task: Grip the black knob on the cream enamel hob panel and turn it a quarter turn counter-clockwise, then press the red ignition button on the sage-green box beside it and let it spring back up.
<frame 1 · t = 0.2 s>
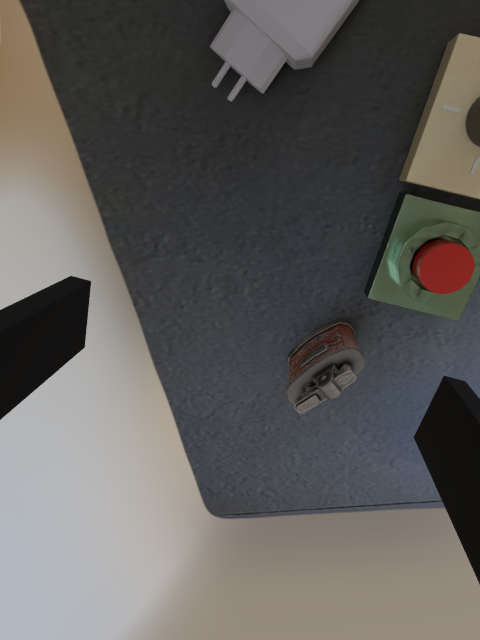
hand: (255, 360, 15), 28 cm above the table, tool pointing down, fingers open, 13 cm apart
lighter: (319, 345, 44), on the table
hob panel: (478, 128, 35), on the table
charger: (279, 18, 34), on the table
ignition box: (426, 255, 39), on the table
ignition button: (442, 266, 35), point 5 cm above the table, slide at 0.1 cm
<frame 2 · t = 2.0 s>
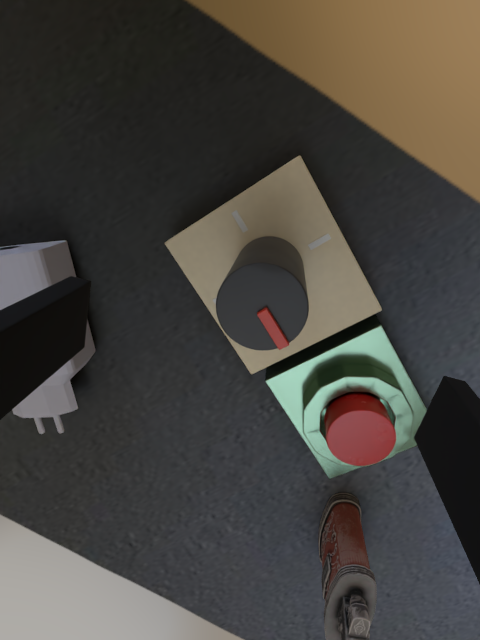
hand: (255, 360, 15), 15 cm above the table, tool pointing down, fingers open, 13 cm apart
lighter: (338, 525, 36), on the table
hob knob: (265, 287, 22), point 6 cm above the table, hinge at 0.0°
hob panel: (274, 267, 28), on the table
charger: (44, 335, 33), on the table
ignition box: (349, 393, 31), on the table
ignition button: (358, 429, 27), point 5 cm above the table, slide at 0.1 cm
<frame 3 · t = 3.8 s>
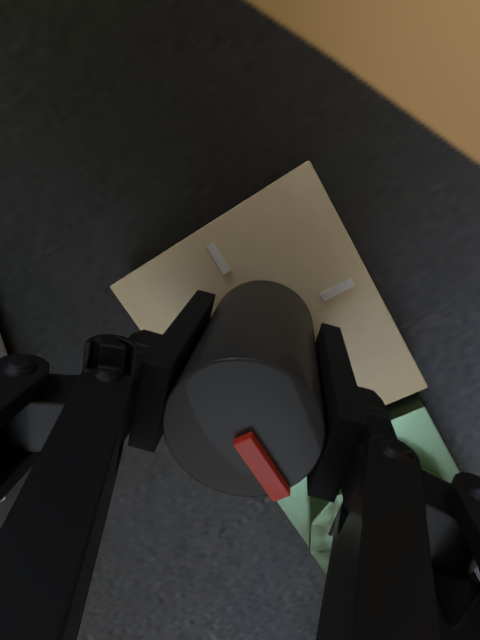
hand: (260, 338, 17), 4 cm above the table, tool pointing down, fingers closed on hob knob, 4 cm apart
hob knob: (254, 369, 14), point 6 cm above the table, hinge at 0.0°, touching gripper
hob panel: (270, 317, 20), on the table
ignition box: (372, 483, 23), on the table
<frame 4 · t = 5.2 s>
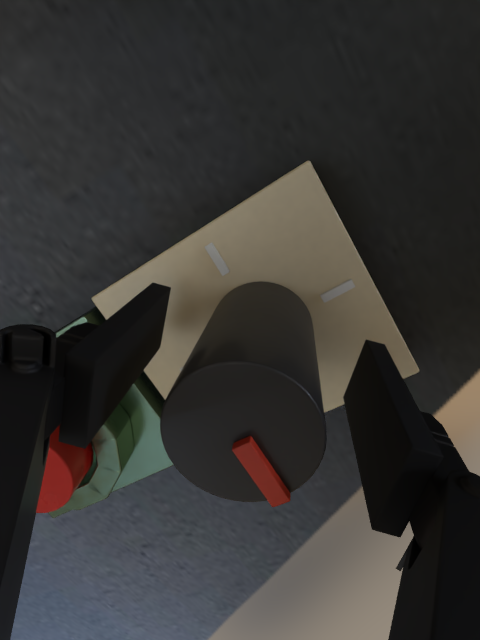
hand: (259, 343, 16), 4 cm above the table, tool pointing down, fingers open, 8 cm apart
hob knob: (253, 372, 14), point 6 cm above the table, hinge at 90.0°
hob panel: (256, 315, 20), on the table
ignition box: (86, 406, 23), on the table
ignition button: (39, 460, 19), point 5 cm above the table, slide at 0.1 cm
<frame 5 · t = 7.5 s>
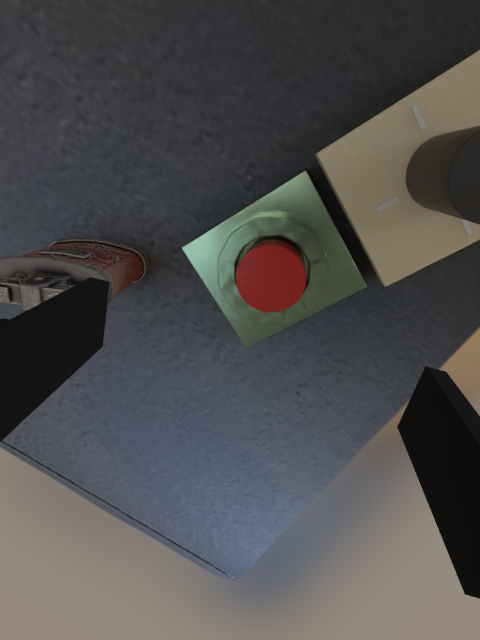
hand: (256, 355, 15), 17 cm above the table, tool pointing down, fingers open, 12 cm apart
lighter: (101, 259, 32), on the table
hob knob: (468, 173, 21), point 6 cm above the table, hinge at 90.0°
hob panel: (422, 176, 27), on the table
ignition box: (274, 260, 30), on the table
ignition button: (271, 275, 26), point 5 cm above the table, slide at 0.1 cm
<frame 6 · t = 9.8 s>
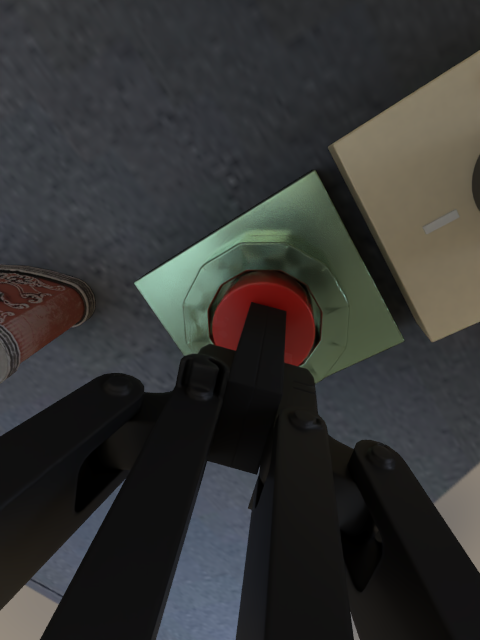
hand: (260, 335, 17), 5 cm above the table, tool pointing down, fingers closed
lighter: (30, 293, 23), on the table
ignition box: (269, 297, 21), on the table
ignition button: (264, 323, 18), point 4 cm above the table, slide at -0.8 cm, touching gripper
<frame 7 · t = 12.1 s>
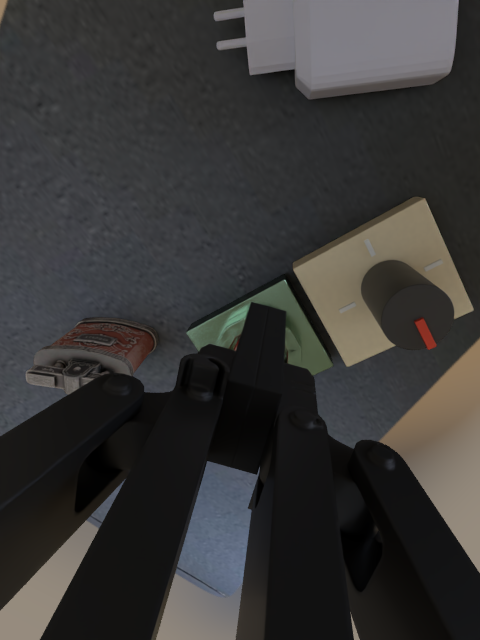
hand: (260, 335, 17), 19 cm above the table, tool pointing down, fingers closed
lighter: (118, 333, 39), on the table
hob knob: (402, 301, 28), point 6 cm above the table, hinge at 90.0°
hob panel: (376, 281, 35), on the table
charger: (323, 28, 29), on the table
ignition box: (260, 339, 38), on the table
ignition button: (257, 361, 33), point 5 cm above the table, slide at 0.1 cm
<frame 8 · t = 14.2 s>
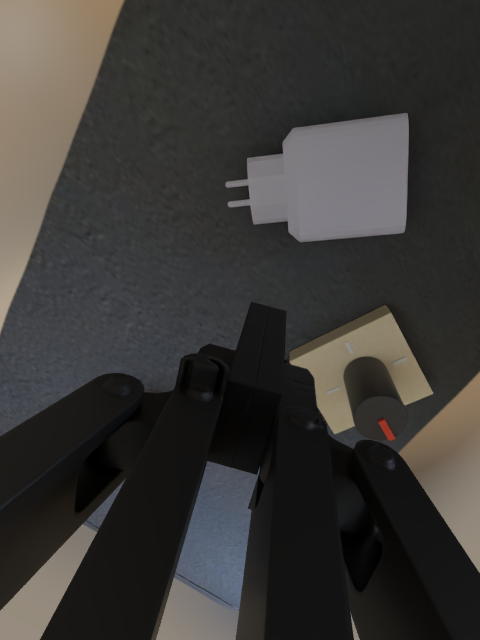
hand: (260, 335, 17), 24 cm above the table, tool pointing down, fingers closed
hob knob: (372, 396, 37), point 6 cm above the table, hinge at 90.0°
hob panel: (357, 366, 43), on the table
charger: (310, 184, 38), on the table
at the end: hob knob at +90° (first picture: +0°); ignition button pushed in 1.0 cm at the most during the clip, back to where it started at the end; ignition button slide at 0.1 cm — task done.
